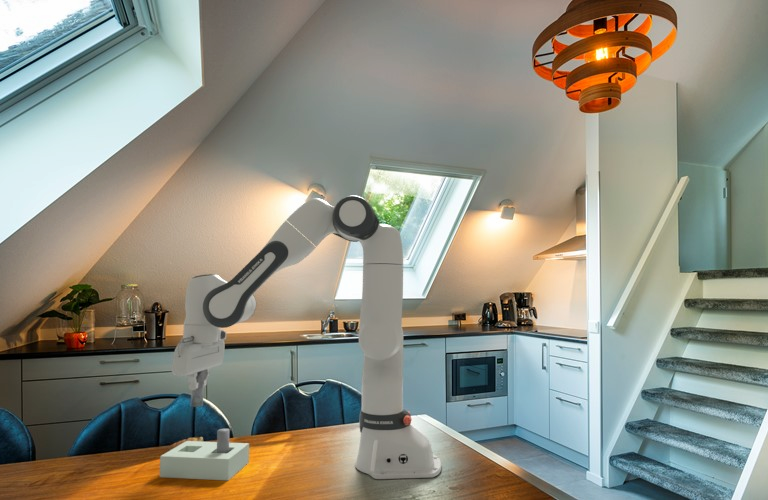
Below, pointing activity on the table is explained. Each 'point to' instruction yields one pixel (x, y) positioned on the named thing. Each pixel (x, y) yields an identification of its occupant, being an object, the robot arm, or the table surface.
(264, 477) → the table surface
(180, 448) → the hole block
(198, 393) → the peg
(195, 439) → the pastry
